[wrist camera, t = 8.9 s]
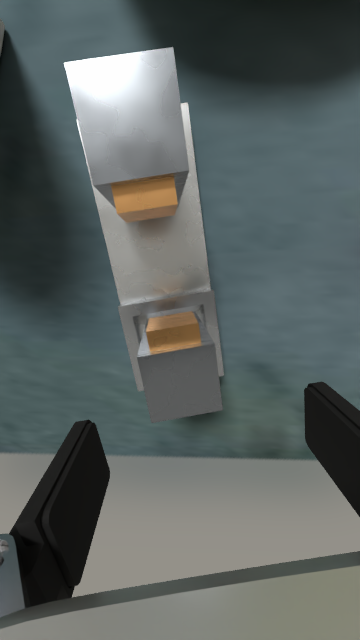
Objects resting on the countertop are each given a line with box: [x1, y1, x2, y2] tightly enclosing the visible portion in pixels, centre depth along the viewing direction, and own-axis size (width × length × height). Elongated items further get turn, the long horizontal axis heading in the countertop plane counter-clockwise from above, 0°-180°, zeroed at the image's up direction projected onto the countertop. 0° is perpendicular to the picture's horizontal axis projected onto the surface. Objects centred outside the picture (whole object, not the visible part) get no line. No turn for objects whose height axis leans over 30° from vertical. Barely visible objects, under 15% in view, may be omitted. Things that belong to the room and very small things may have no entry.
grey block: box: [137, 311, 223, 423], centre depth 17 cm, size 6×4×8 cm
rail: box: [64, 47, 224, 391], centre depth 16 cm, size 8×22×10 cm, turn 9°
